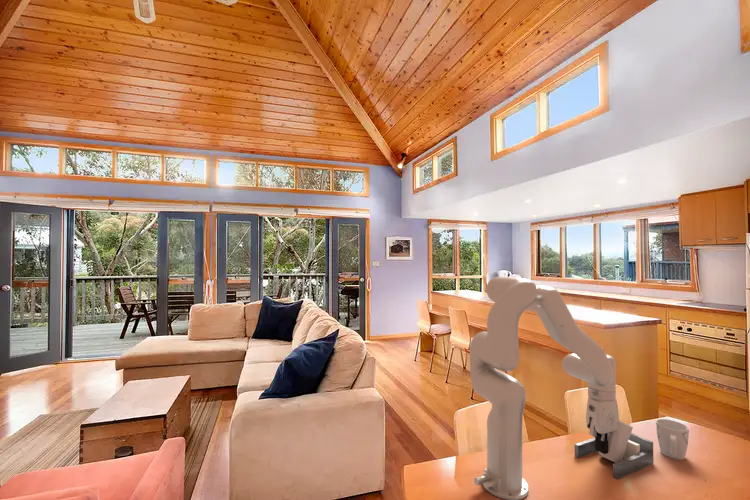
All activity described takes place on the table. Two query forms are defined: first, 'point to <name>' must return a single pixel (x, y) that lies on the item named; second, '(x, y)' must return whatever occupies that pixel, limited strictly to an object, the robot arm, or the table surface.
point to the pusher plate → (631, 449)
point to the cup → (618, 442)
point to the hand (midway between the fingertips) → (601, 451)
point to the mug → (672, 438)
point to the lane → (626, 464)
